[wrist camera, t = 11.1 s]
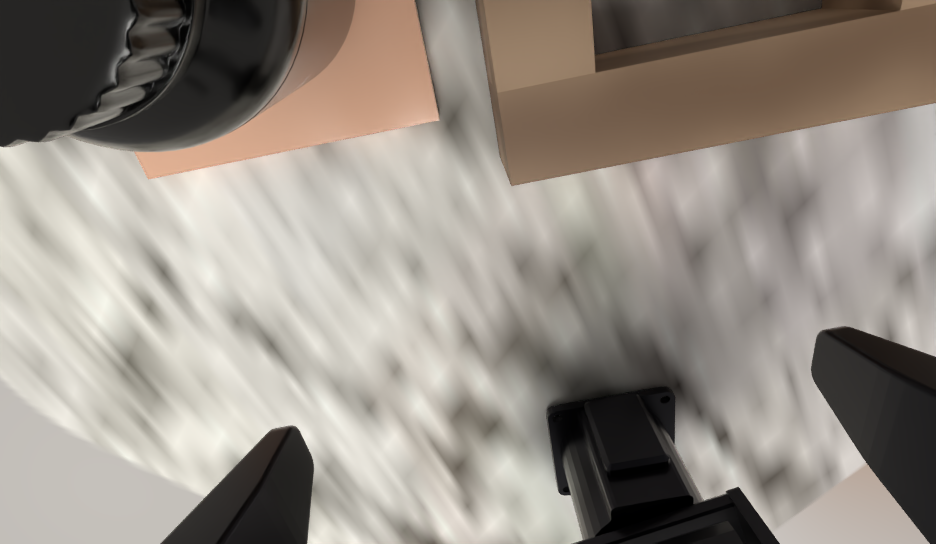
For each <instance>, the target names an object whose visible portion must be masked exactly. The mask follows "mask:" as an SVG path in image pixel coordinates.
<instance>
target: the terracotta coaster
mask: <svg viewBox="0 0 936 544" xmlns="http://www.w3.org/2000/svg"><path fill="white" fill-rule="evenodd" d="M438 120H439V112H438V107H437V102H436V97H435V92H434V88H433V83H432V78H431V73H430V68H429V64H428V59H427V54H426V49H425V45H424V40H423V35H422V30H421V25H420V21H419V16H418V11H417V6H416V2H415V0H355V9H354V14H353V19H352V23H351V26H350V29H349V32H348V35H347V37H346V39H345V41H344V43H343V45H342V47H341V49H340V51H339V52H338V53H337V55H336V56H335V58H334V59H333V60H332V62H331V63H330V64H329V65H328V66H327V67H326V68H325V69H324V70H323V71H322V72H321V73H320V74H318V75H317V76H316V77H315V78H313V79H312V80H311V81H309V82H308V83H306V84H305V85H303V86H302V87H300V88H299V89H297V90H296V91H294V92H293V93H291V94H290V95H288V96H287V97H285V98H284V99H282V100H281V101H279V102H278V103H276V104H275V105H273V106H272V107H270V108H269V109H267V110H266V111H264V112H263V113H261V114H260V115H258V116H257V117H255V118H254V119H252V120H251V121H249V122H248V123H246V124H244V125H243V126H241V127H239V128H237V129H236V130H234V131H232V132H231V133H228V134H226V135H224V136H222V137H220V138H217V139H215V140H213V141H210V142H208V143H205V144H202V145H198V146H195V147H192V148H187V149H181V150H176V151H165V152H135V154H136V156H137V158H138V160H139V162H140V164H141V166H142V168H143V170H144V172H145V174H146V176H147V178H148V179H152V178H157V177H162V176H167V175H172V174H177V173H182V172H187V171H192V170H197V169H201V168H206V167H211V166H216V165H221V164H226V163H231V162H236V161H241V160H246V159H251V158H256V157H261V156H265V155H270V154H275V153H280V152H285V151H290V150H295V149H300V148H305V147H310V146H315V145H320V144H325V143H330V142H334V141H339V140H344V139H349V138H354V137H359V136H364V135H369V134H374V133H379V132H384V131H389V130H394V129H398V128H403V127H408V126H413V125H418V124H423V123H428V122H433V121H438Z"/></svg>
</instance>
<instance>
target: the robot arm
mask: <svg viewBox="0 0 936 544" xmlns="http://www.w3.org/2000/svg"><path fill="white" fill-rule="evenodd" d="M811 373H812V377H813V380H814V382H815V384H816V385H817V387H818V388H819V390H820V392H821V393H822V395H823V396H824V398H825V399H826V401H827V402H828V404H829V406H830V407H831V409H832V410H833V412H834V413H835V415H836V417H837V418H838V420H839V421H840V423H841V424H842V426H843V428H844V429H845V431H846V432H847V434H848V435H849V437H850V438H851V440H852V442H853V443H854V445H855V446H856V448H857V449H858V451H859V452H860V454H861V455H862V457H863V458H864V460H865V461H866V463H867V464H868V465H869V467H870V468H871V469H872V471H873V472H874V473H875V474H876V476H877V477H878V478H879V480H880V481H881V482H882V483H883V485H884V486H885V487H886V488H887V490H888V491H889V492H890V494H891V495H892V496H893V497H894V498H895V500H896V501H897V503H898V504H899V505H900V506H901V507H902V509H903V510H904V511H905V513H906V514H907V515H908V516H909V518H910V519H911V520H912V521H913V523H914V524H915V525H916V527H917V528H918V529H919V530H920V532H921V533H922V534H923V535H924V537H925V538H926V539H927V541H928V542H929V543H930V544H936V357H935V356H932V355H929V354H926V353H923V352H920V351H917V350H914V349H912V348H909V347H906V346H903V345H900V344H897V343H894V342H892V341H889V340H886V339H883V338H880V337H877V336H874V335H871V334H869V333H866V332H863V331H860V330H857V329H854V328H851V327H847V326H843V327H837V328H831V329H825V330H822V331H820V332H819V334H818V335H817V338H816V343H815V348H814V354H813V360H812V366H811ZM663 396H665V397H663ZM662 397H663V398H662ZM555 415H559V416H557V417H554V416H555ZM546 417H547V423H548V430H549V436H550V443H551V449H552V456H553V463H554V469H555V476H556V482H557V487H558V491H559V493H560V494H561V495H571V497H572V500H573V504H574V508H575V512H576V515H577V519H578V523H579V527H580V530H581V534H582V538H583V540H582V541H579V542H576V543H573V544H780V543H779V542H778V541H777V539H776V538H775V536H774V535H773V534H772V532H771V531H770V530H769V528H768V527H767V525H766V524H765V523H764V521H763V520H762V519H761V517H760V516H759V514H758V513H757V512H756V510H755V509H754V508H753V506H752V505H751V503H750V502H749V501H748V499H747V498H746V496H745V495H744V494H743V492H742V491H741V490H740V488H739V487H737V488H734V489H731V490H728V491H726V494H723V495H720V496H717V497H714V498H711V499H708V500H705V501H704V500H703V499H702V497H701V495H700V493H699V491H698V489H697V487H696V485H695V483H694V481H693V480H692V478H691V476H690V474H689V472H688V470H687V468H686V466H685V464H684V463H683V461H682V459H681V457H680V455H679V453H678V451H677V449H676V447H675V445H674V441H675V396H674V394H673V392H672V390H671V389H670V388H668V387H659V388H653V389H647V390H642V391H636V392H630V393H625V394H619V395H613V396H608V397H602V398H596V399H591V400H585V401H579V402H574V403H568V404H562V405H557V406H553V407H551V408H549V409H548V410H547V412H546ZM313 474H314V464H313V459H312V456H311V454H310V452H309V449H308V447H307V445H306V443H305V441H304V439H303V437H302V435H301V433H300V431H299V429H298V428H297V427H296V426H286V427H280V428H275V429H272V430H271V431H269V432H268V433H267V434H266V435H265V436H264V437H263V438H262V439H261V440H260V441H259V442H258V443H257V445H256V446H255V447H254V448H253V449H252V450H251V451H250V452H249V453H248V454H247V455H246V456H245V457H244V458H243V459H242V460H241V461H240V462H239V463H238V464H237V465H236V466H235V467H234V468H233V469H232V470H231V471H230V472H229V473H228V474H227V475H226V477H225V478H224V479H223V480H222V481H221V482H220V483H219V484H218V485H217V486H216V487H215V488H214V489H213V490H212V491H211V492H210V493H209V494H208V495H207V496H206V497H205V498H204V499H203V500H202V501H201V502H200V504H198V505H197V507H196V508H195V509H194V510H193V511H192V512H191V513H190V514H189V515H188V516H187V517H186V518H185V519H184V520H183V521H182V522H181V523H180V524H179V525H178V526H177V527H176V528H175V529H174V530H173V531H172V532H171V533H170V534H169V535H168V536H167V537H166V539H165V540H164V541H163V542H162V543H161V544H307V540H308V529H309V518H310V507H311V496H312V485H313Z"/></svg>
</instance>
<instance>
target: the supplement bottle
mask: <svg viewBox="0 0 936 544" xmlns="http://www.w3.org/2000/svg"><path fill="white" fill-rule="evenodd" d="M354 9H355V0H0V146H1V147H13V146H17V145H20V144H23V143H26V142H29V141H31V142H48V141H52V140H55V139H58V138H61V137H64V136H68V137H71V138H74V139H77V140H80V141H83V142H86V143H90V144H94V145H97V146H101V147H106V148H112V149H117V150H123V151H134V152H165V151H176V150H181V149H187V148H192V147H195V146H198V145H202V144H205V143H208V142H210V141H213V140H215V139H217V138H220V137H222V136H224V135H226V134H228V133H231V132H232V131H234V130H236V129H237V128H239V127H241V126H243V125H244V124H246V123H248V122H249V121H251V120H252V119H254V118H255V117H257V116H258V115H260V114H261V113H263V112H264V111H266V110H267V109H269V108H270V107H272V106H273V105H275V104H276V103H278V102H279V101H281V100H282V99H284V98H285V97H287V96H288V95H290V94H291V93H293V92H294V91H296V90H297V89H299V88H300V87H302V86H303V85H305V84H306V83H308V82H309V81H311V80H312V79H313V78H315V77H316V76H317V75H318V74H320V73H321V72H322V71H323V70H324V69H325V68H326V67H327V66H328V65H329V64H330V63H331V62H332V60H333V59H334V58H335V56H336V55H337V53H338V52H339V51H340V49H341V47H342V45H343V43H344V41H345V39H346V37H347V35H348V32H349V29H350V26H351V23H352V19H353V14H354Z"/></svg>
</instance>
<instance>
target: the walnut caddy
mask: <svg viewBox="0 0 936 544" xmlns="http://www.w3.org/2000/svg"><path fill="white" fill-rule="evenodd" d="M475 2H476V8H477V14H478V21H479V27H480V33H481V40H482V46H483V52H484V58H485V65H486V71H487V77H488V84H489V90H490V96H491V103H492V109H493V115H494V121H495V128H496V134H497V140H498V147H499V153H500V158H501V160H502V163H503V166H504V168H505V171H506V173H507V176H508V178H509V181H510V184H511V186H514V185H519V184H524V183H530V182H535V181H540V180H545V179H550V178H555V177H560V176H565V175H570V174H575V173H580V172H586V171H591V170H596V169H601V168H606V167H611V166H616V165H621V164H626V163H631V162H637V161H642V160H647V159H652V158H657V157H662V156H667V155H672V154H677V153H682V152H688V151H693V150H698V149H703V148H708V147H713V146H718V145H723V144H728V143H733V142H739V141H744V140H749V139H754V138H759V137H764V136H769V135H774V134H779V133H784V132H790V131H795V130H800V129H805V128H810V127H815V126H820V125H825V124H830V123H835V122H841V121H846V120H851V119H856V118H861V117H866V116H871V115H876V114H881V113H886V112H892V111H897V110H902V109H907V108H912V107H917V106H922V105H927V104H932V103H936V0H822V7H821V8H820V9H815V10H810V11H806V12H801V13H796V14H791V15H786V16H781V17H776V18H772V19H767V20H762V21H757V22H752V23H747V24H742V25H738V26H733V27H728V28H723V29H718V30H713V31H708V32H704V33H699V34H694V35H689V36H684V37H679V38H674V39H670V40H665V41H660V42H655V43H650V44H645V45H641V46H636V47H631V48H626V49H621V50H616V51H611V52H607V53H602V54H597V55H594V40H593V23H592V7H591V0H475Z"/></svg>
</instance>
